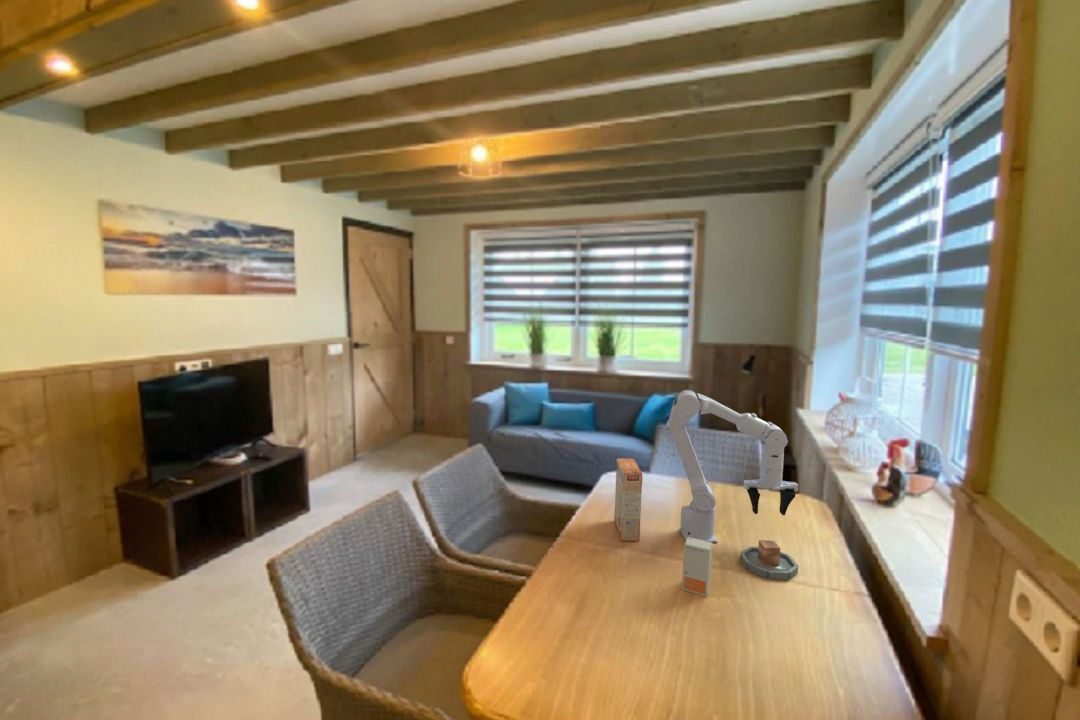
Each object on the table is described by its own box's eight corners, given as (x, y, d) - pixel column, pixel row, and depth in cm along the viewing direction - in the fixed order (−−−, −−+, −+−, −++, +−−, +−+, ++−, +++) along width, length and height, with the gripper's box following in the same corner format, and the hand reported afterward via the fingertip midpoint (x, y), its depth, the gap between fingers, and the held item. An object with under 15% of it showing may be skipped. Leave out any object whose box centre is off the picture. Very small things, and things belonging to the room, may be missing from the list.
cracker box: (640, 542, 139) (643, 473, 137) (620, 541, 139) (622, 472, 137) (632, 520, 153) (634, 457, 151) (613, 520, 153) (615, 457, 151)
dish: (751, 577, 121) (752, 571, 121) (735, 551, 134) (735, 545, 134) (804, 580, 120) (805, 574, 120) (783, 554, 133) (783, 548, 133)
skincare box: (681, 590, 116) (683, 543, 114) (684, 581, 119) (687, 536, 118) (707, 597, 113) (710, 549, 111) (710, 588, 117) (712, 542, 115)
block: (763, 565, 125) (764, 547, 125) (757, 557, 129) (758, 539, 129) (779, 566, 125) (780, 548, 124) (772, 558, 129) (774, 540, 128)
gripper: (750, 471, 133) (747, 518, 134) (804, 473, 132) (801, 520, 133) (742, 463, 140) (739, 507, 141) (793, 465, 138) (790, 509, 140)
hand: (768, 513), depth 138 cm, fingers open, 7 cm apart
